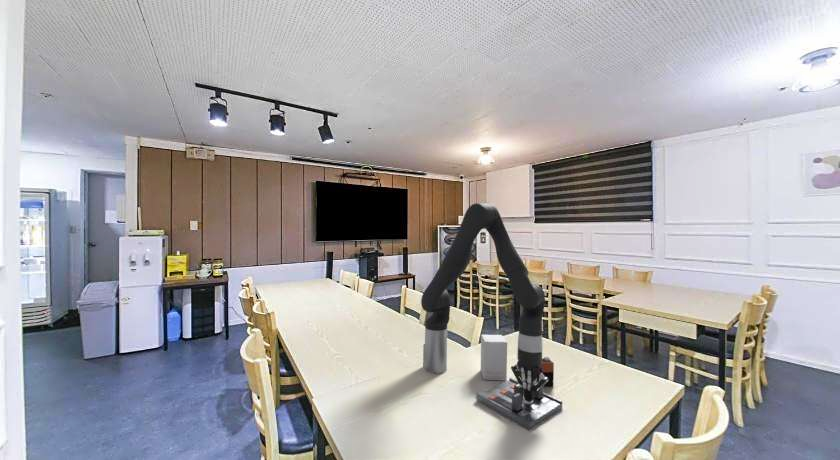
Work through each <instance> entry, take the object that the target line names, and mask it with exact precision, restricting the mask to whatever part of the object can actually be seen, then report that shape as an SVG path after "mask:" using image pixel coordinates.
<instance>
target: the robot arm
mask: <svg viewBox="0 0 840 460" xmlns="http://www.w3.org/2000/svg"><path fill="white" fill-rule="evenodd" d="M482 230H486V231H487V233H488V234H489V235H490V237H491V239H492V240H493V244H494V247H495V253H496V258H497V261H498V263H499V266H500V267H501V269H502V271H503V272H504V274H505V276H506V277H507V279H508V280H509V281H508V282H509V285H510V287H511V290H512V292H513V295H514V298H515V300H516V302H517V303H518V304H519V306H521V307H522V312H521V314H520V315H519V319H518V321H519V322H518V336H517V362H516V364H514V365H512V366H510V369H511V371H512V373H513V376H514V377H515V380H517V381H518V383H519V384H520V385H522V386H523V388H524V398H525V400H526V401H528V402H531V401H532V400H533V399H534V391H537V390H539V389H540V388H542V387H543V386H544V385H545V384H546V383H547V382H548V381H549V378H548V377H545V376H544V374H543V370H542V368H541V365H542V359H543V348H544V347H543V335H542V333H543V316H544V310H545V304H546V294H545V291H544V289H543V288H542V287H541V285H538V284H534V283H531V280H530V278H529V270H528V267H526V264H525V263H524V261H523V260H522V258H521V256H520V255H519V254H518V252H517V250H516V248H515V246H514V244H513V241H512V239H511V237H510V235H509V233H508V231H507V228H506V227H505V224H504V222H503V219H502V217H501V214H500V212H499V210H498V208H497V207H496V205H494V204H492V203H489V202H476V203H472V204H471V205H470V206H468V208H467V210H466V211H465V213H464V215H463V218H462V221H461V224H460V225H459V228H458V231H457V233H456V235H455V237H454V239H453V241H452V242H451V245H450V247H449V249H448V250H447V252H446V254H445V256H444V258H443V260H442V262H441V264H440V265H439V268H438V269H437V271H436V273H435V275H434V277H433V278H432V280H431V281H430V283H429V284H428V285H427V286H426V289H425V290H424V291H423V293H422V295H421V299H420V304H421V308H422V310H423V311H425V312H426V313H432V314H431V315H430V316H429V317H428V318H427V319H426V320H425V323H424V343H423V345H422V346H423V349H422V350H423V351H422V352H423V353H422V355H423V356H422V367H423V368H424V370H425V371H426V372H428V373H430V374H443V373H445V372H446V371H447V368H448V367H447V365H448V364H447V363H448V362H447V361H448V357H447V356H448V324H449V322H450V314H451V297H450V294H449V291H448V290H447V289H448V288H449V287H450V286H451V285H452V284H453V283H455V282H456V281H457V280H458V279H460V277H461V276H462V275H463V274H464V273H465V271H466V269H467V267H468V266H469V264H470V262H471V260H472V252H473V251H472V249H473V244H474V242H475V240H476V238H477V236H478V235H479V233H480V232H481V231H482ZM539 376H540V378H539V381H540V382H539V383H537V384H536V382H537V378H538V377H539ZM535 384H536V385H535ZM543 388H544V387H543Z"/></svg>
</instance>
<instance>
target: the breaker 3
mask: <svg viewBox="0 0 840 460" xmlns="http://www.w3.org/2000/svg"><path fill="white" fill-rule="evenodd" d="M537 383H539V382H537ZM537 383H536V384H537ZM536 384H535V385H536ZM543 393H544V387H542V388H540V389H539V390H537V391H534V397H536V398H538V399H539V398H541V397H543Z"/></svg>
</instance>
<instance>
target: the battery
mask: <svg viewBox="0 0 840 460" xmlns="http://www.w3.org/2000/svg"><path fill="white" fill-rule="evenodd" d="M554 366H555V364H554V361H552V360H551V358H550V357H548V356H545V357H543V358H542V365H541V368H542V370H543V374H544V376H545V377H548V378H549V381H548V382H547V383H546V384H545V385H544V386H543V388H552V387H554V375H555V374H554V372H555V370H554V369H555V368H554ZM539 378H540V376H539V377H538V378H537V382H540V381H539ZM537 382H536V383H537Z"/></svg>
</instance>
